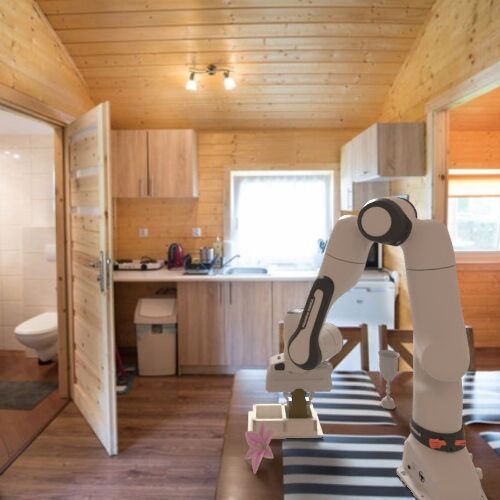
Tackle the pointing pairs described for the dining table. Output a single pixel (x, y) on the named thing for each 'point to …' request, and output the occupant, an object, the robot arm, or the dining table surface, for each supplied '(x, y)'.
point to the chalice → (388, 373)
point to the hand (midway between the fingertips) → (298, 404)
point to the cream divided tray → (284, 421)
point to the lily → (259, 445)
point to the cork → (298, 405)
